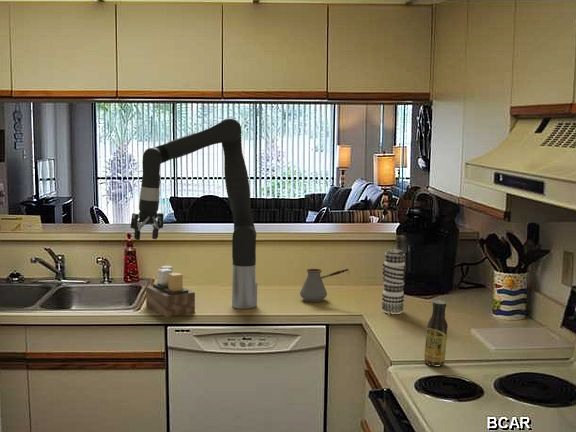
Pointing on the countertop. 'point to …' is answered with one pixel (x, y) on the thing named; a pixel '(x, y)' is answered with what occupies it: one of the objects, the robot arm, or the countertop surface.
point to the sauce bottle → (436, 335)
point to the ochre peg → (175, 282)
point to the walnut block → (170, 300)
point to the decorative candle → (393, 281)
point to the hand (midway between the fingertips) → (146, 239)
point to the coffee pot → (315, 285)
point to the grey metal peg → (163, 276)
